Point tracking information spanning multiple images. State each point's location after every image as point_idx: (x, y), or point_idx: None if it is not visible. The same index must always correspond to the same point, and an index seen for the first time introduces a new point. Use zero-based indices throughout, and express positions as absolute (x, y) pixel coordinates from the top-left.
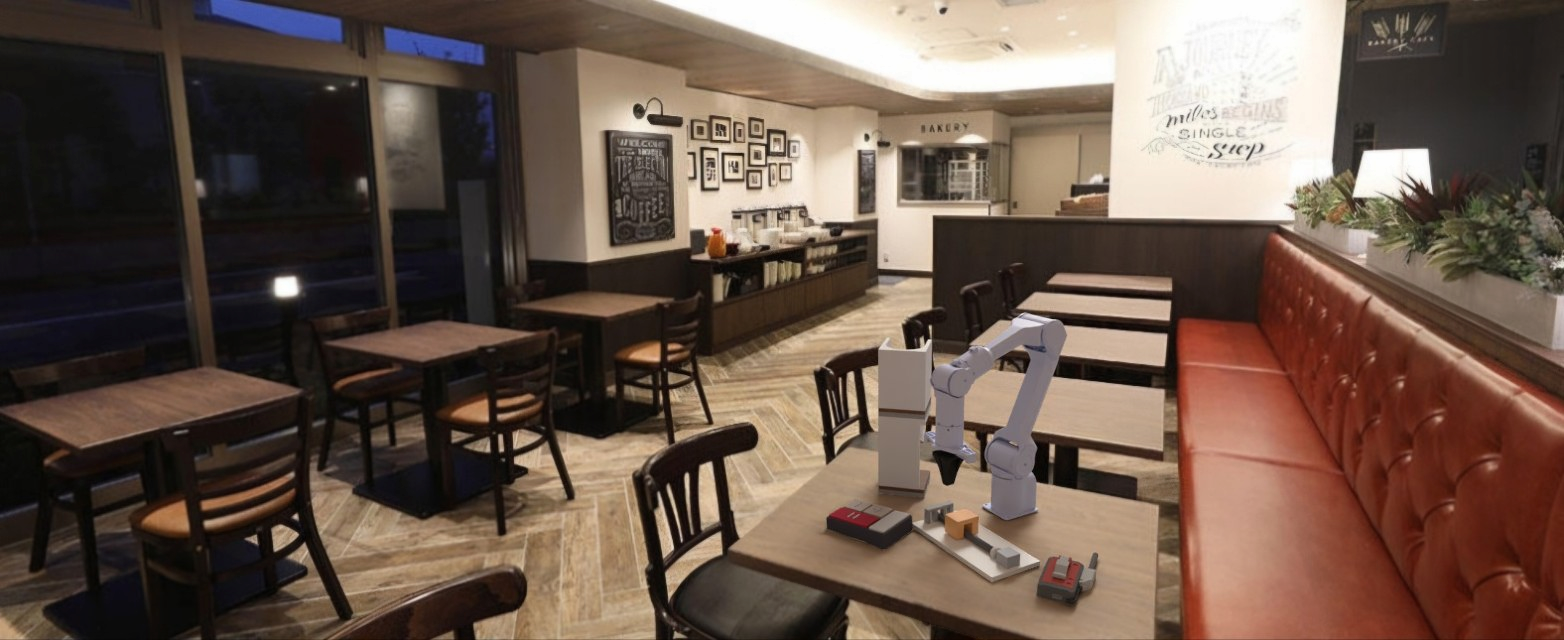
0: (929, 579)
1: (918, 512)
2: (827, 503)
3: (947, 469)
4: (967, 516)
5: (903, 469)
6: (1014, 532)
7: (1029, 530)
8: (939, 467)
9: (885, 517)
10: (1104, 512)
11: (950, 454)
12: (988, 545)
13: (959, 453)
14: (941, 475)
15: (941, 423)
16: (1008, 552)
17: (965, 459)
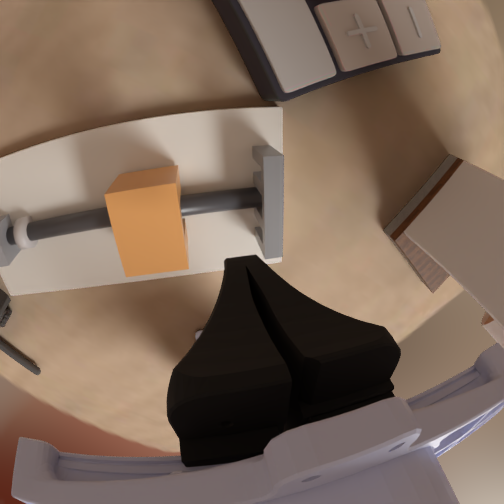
0: (17, 33)
1: (339, 176)
2: (463, 34)
3: (206, 325)
4: (133, 245)
5: (463, 226)
6: (144, 321)
7: (144, 345)
8: (292, 298)
9: (306, 14)
10: (172, 430)
11: (231, 440)
12: (43, 230)
13: (71, 495)
14: (265, 273)
15: None
16: None
17: (38, 460)
